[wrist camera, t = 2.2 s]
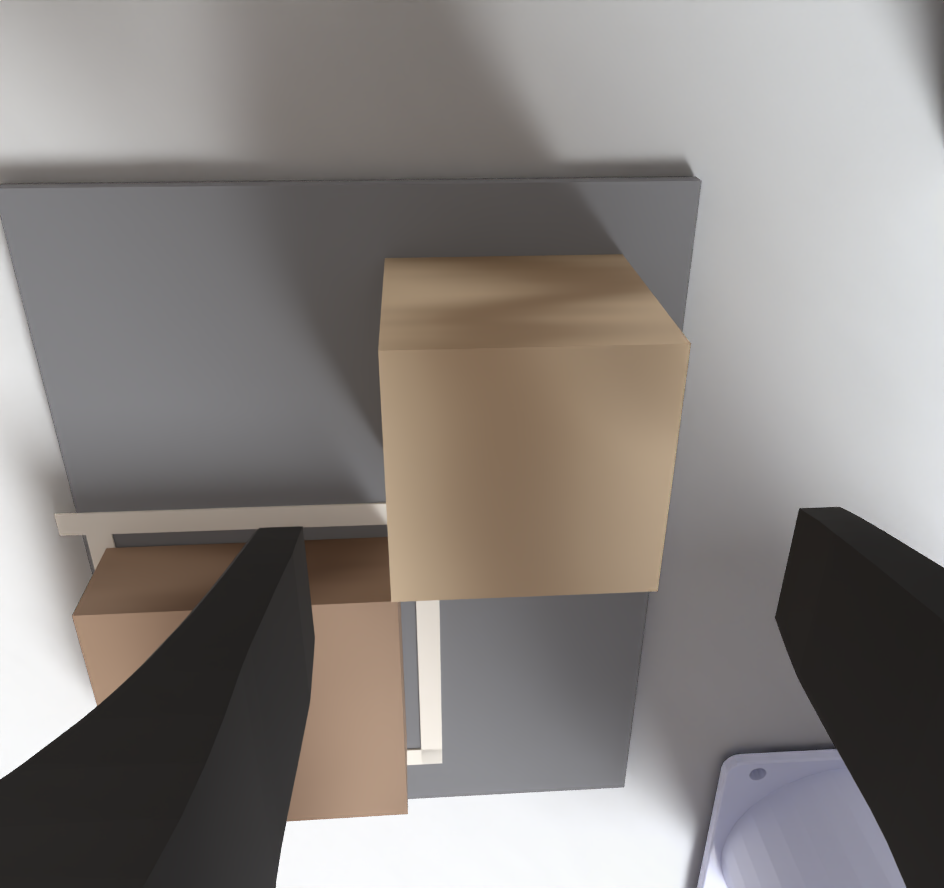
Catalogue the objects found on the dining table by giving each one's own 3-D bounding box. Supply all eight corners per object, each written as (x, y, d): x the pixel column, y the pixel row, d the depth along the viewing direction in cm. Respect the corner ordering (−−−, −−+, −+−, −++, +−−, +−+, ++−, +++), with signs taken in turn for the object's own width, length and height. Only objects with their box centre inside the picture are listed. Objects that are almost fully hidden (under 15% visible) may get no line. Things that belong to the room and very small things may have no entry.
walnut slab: (397, 536, 21) (397, 601, 19) (406, 739, 25) (407, 813, 22) (106, 548, 21) (72, 615, 19) (156, 753, 24) (131, 830, 22)
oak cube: (622, 254, 18) (690, 343, 14) (604, 459, 21) (657, 591, 16) (384, 258, 18) (378, 350, 14) (394, 466, 20) (391, 602, 16)
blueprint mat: (695, 176, 18) (702, 181, 18) (621, 776, 27) (624, 788, 26) (-25, 184, 17) (-35, 189, 17) (139, 802, 26) (136, 814, 25)
